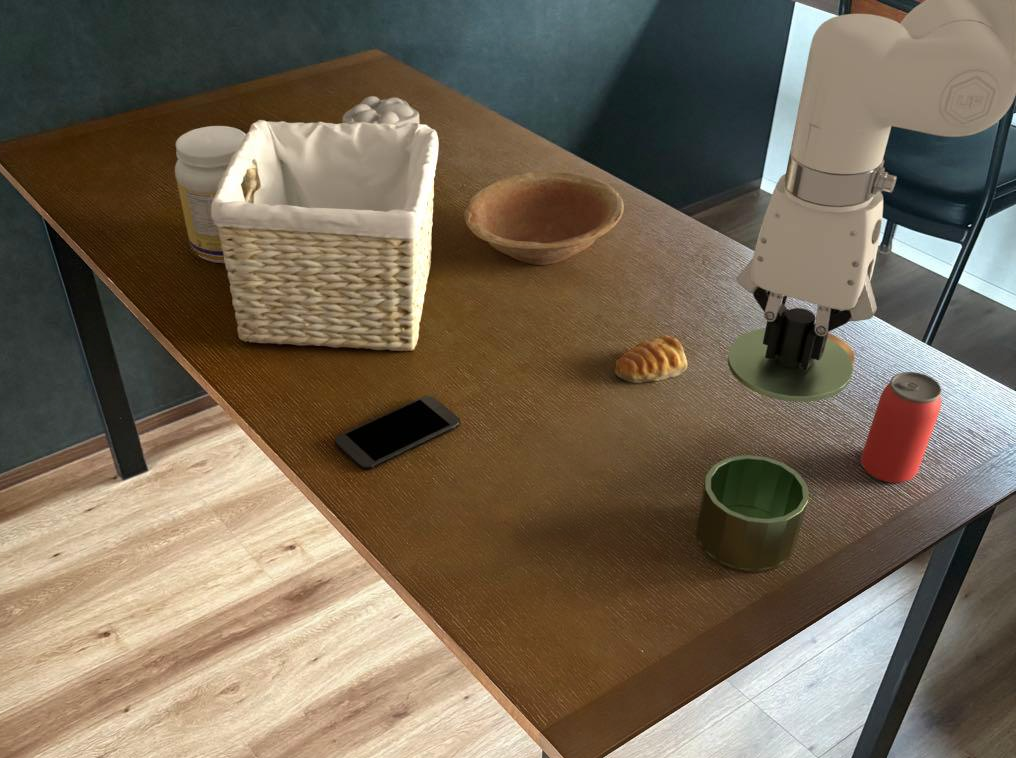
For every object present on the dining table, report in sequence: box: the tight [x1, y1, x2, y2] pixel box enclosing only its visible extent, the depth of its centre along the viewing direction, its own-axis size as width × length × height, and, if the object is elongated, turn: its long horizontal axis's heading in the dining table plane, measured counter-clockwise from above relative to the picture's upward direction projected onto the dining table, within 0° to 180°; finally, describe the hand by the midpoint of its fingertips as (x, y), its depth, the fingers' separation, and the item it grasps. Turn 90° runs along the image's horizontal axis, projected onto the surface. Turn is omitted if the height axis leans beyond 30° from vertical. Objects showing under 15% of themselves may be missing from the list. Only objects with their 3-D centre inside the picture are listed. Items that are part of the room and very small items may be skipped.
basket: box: [211, 119, 440, 352], centre depth 148 cm, size 27×27×22 cm
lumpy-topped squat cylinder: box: [341, 95, 421, 127], centre depth 188 cm, size 10×13×9 cm
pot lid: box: [727, 307, 854, 403], centre depth 103 cm, size 12×12×6 cm
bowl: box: [463, 171, 625, 266], centre depth 164 cm, size 24×24×8 cm
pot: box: [695, 454, 810, 573], centre depth 118 cm, size 11×11×8 cm
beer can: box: [860, 371, 943, 484], centre depth 125 cm, size 7×7×12 cm
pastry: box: [614, 334, 688, 384], centre depth 142 cm, size 9×7×4 cm
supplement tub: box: [174, 125, 249, 264], centre depth 162 cm, size 12×12×17 cm
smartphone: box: [333, 395, 461, 471], centre depth 134 cm, size 7×15×1 cm, turn 128°
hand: (791, 355), depth 104 cm, fingers closed on pot lid, 2 cm apart
